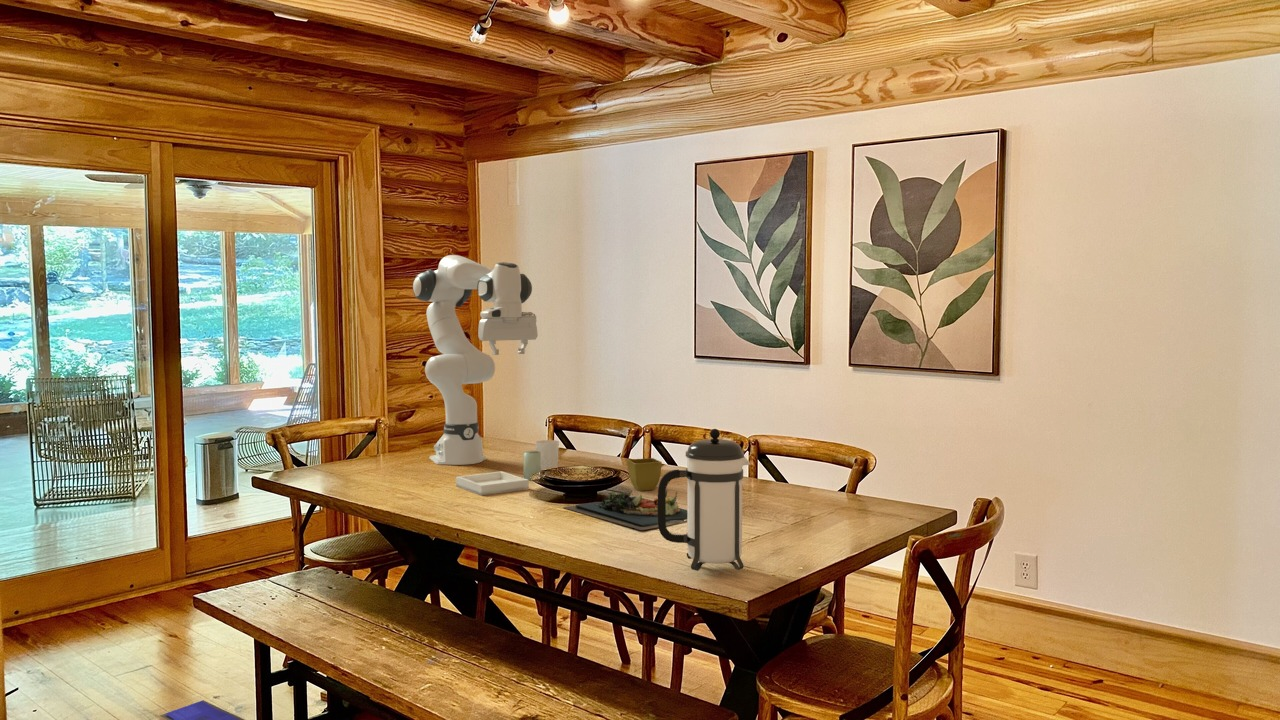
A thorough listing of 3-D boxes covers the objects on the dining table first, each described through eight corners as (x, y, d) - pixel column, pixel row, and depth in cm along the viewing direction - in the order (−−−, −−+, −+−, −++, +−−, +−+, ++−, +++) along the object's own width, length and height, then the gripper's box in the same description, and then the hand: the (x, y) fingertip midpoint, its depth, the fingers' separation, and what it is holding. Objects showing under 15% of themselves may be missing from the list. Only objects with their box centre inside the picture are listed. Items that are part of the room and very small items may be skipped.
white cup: (557, 472, 319) (557, 443, 319) (534, 472, 319) (534, 443, 319) (560, 468, 327) (559, 440, 326) (537, 468, 327) (537, 440, 327)
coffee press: (709, 550, 219) (709, 422, 217) (762, 564, 207) (763, 428, 205) (655, 564, 207) (655, 429, 205) (709, 580, 195) (709, 436, 194)
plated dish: (719, 516, 258) (719, 489, 257) (642, 532, 239) (642, 504, 239) (635, 496, 284) (635, 472, 284) (560, 510, 265) (560, 484, 265)
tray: (456, 486, 296) (456, 476, 296) (501, 480, 305) (501, 471, 305) (481, 495, 281) (481, 485, 281) (528, 489, 291) (528, 479, 290)
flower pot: (626, 487, 293) (626, 459, 293) (653, 485, 296) (653, 457, 295) (635, 493, 285) (635, 463, 284) (662, 491, 288) (662, 462, 287)
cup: (520, 479, 308) (520, 451, 307) (535, 477, 311) (535, 449, 311) (528, 481, 303) (528, 453, 303) (544, 479, 307) (543, 452, 306)
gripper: (531, 311, 316) (532, 353, 317) (475, 312, 304) (476, 355, 305) (540, 311, 311) (541, 353, 312) (484, 312, 299) (485, 355, 300)
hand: (508, 354), depth 308 cm, fingers open, 8 cm apart
